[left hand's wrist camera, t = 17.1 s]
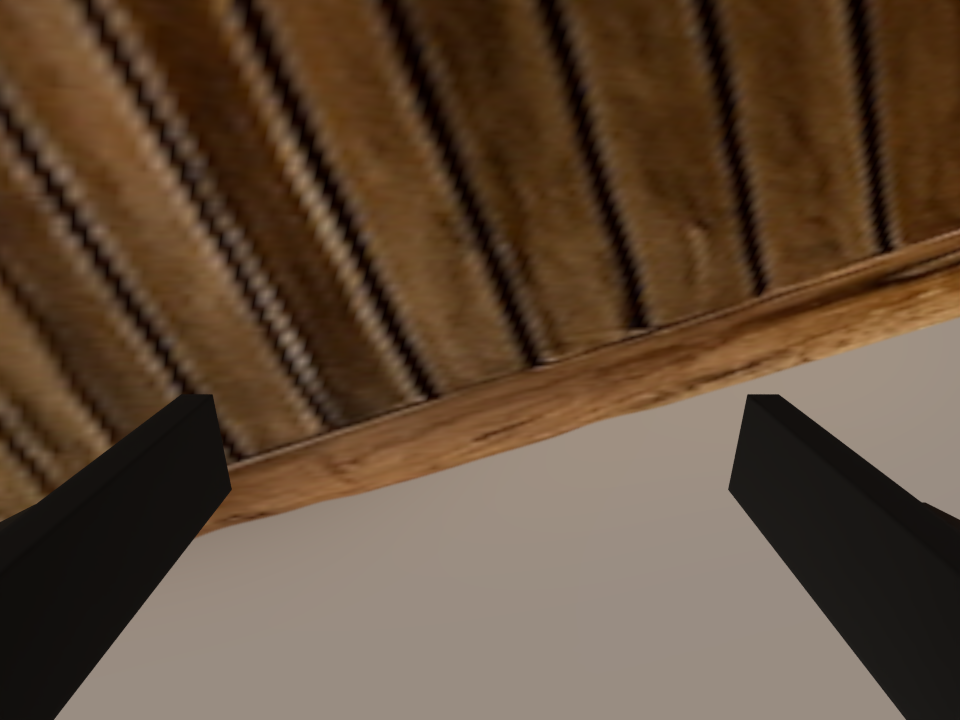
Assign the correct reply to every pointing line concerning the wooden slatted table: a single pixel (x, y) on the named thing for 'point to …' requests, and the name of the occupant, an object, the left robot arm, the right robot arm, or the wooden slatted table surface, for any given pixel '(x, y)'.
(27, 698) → the left robot arm
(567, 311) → the wooden slatted table surface
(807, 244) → the wooden slatted table surface
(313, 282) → the wooden slatted table surface
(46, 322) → the wooden slatted table surface
